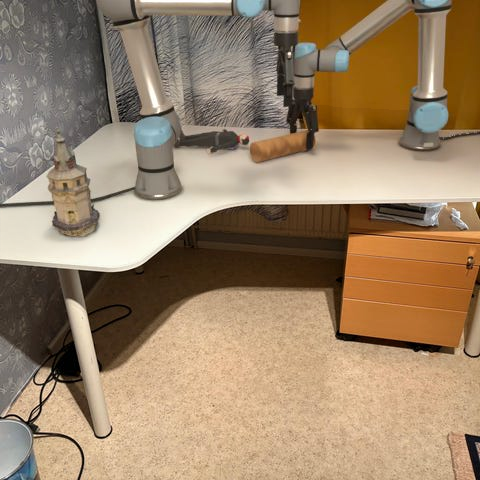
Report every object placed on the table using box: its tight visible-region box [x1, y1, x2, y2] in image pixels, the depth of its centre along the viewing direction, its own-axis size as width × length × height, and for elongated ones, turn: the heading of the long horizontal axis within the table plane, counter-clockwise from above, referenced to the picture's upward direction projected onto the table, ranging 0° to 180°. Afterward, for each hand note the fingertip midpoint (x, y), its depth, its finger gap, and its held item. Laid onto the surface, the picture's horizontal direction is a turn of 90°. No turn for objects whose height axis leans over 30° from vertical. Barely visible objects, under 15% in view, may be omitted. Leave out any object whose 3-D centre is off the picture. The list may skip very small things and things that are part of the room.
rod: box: [249, 129, 317, 163], centre depth 204 cm, size 26×7×7 cm, turn 123°
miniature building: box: [46, 129, 101, 237], centre depth 148 cm, size 13×14×30 cm
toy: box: [173, 128, 250, 154], centre depth 214 cm, size 26×6×30 cm
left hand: (284, 100), depth 174 cm, fingers open, 13 cm apart
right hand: (301, 145), depth 209 cm, fingers open, 9 cm apart
